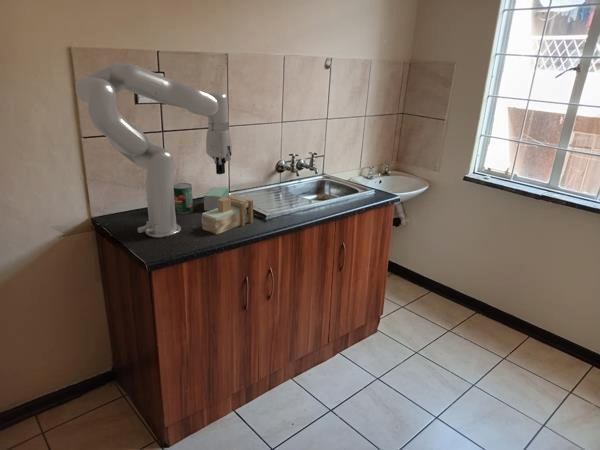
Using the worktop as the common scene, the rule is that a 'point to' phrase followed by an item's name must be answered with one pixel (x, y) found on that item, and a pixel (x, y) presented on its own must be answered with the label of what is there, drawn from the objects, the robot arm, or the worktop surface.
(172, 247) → the worktop surface
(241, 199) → the tan wooden block
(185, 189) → the canned tomato
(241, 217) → the toolbox
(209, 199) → the box
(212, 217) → the lid
